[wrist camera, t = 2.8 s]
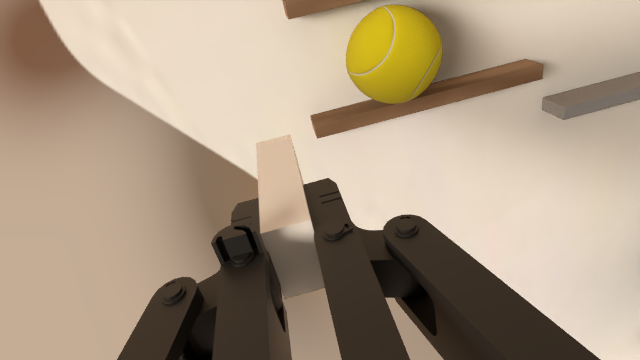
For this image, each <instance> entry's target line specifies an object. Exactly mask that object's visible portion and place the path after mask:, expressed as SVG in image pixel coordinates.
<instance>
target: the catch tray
mask: <svg viewBox="0 0 640 360" xmlns="http://www.w3.org/2000/svg"><path fill="white" fill-rule="evenodd" d="M639 99H640V72H638V73H634V74H630V75H626V76H623V77H619V78H615V79H611V80H608V81H604V82H600V83H596V84H593V85H589V86H585V87H581V88H578V89H574V90H570V91H566V92H563V93H559V94H555V95H551V96H548V97H544V98H543V103H542V110H544V111H546V112H548V113H550V114H552V115H555V116H557V117H559V118H561V119H563V120H565V119H569V118H572V117H576V116H580V115H584V114H587V113H591V112H595V111H599V110H602V109H606V108H610V107H613V106H617V105H621V104H625V103H628V102H632V101H636V100H639Z"/></svg>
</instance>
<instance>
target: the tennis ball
mask: <svg viewBox="0 0 640 360" xmlns="http://www.w3.org/2000/svg"><path fill="white" fill-rule="evenodd" d="M442 52H443V48H442V41H441V38H440V35H439V33H438V31H437V29H436V27H435V26H434V24H433V23H432V22H431V21H430V20H429V19H428V18H427V17H426V16H425V15H424V14H422V13H421V12H419V11H417V10H415V9H413V8H410V7H407V6H403V5H385V6H382V7H379V8H377V9H375V10H374V11H372V12H370V13H369V14H368V15H367V16H365V17H364V18H363V19H362V20H361V21H360V23H359V24H358V25H357V26H356V28H355V30H354V31H353V33H352V35H351V37H350V40H349V43H348V47H347V53H346V66H347V71H348V74H349V76H350V78H351V79H352V81H353V82H354V84H355V85H356V86H357V88H358V89H359V90H360V91H362V92H363V93H364V94H365V95H367V96H368V97H370V98H372V99H374V100H376V101H379V102H384V103H391V104H396V103H404V102H407V101H410V100H412V99H414V98H416V97H417V96H419V95H420V94H421V93H422V92H423V91H424V90H425V89H426V88H427V87H428V86H429V85H430V84H431V82H432V81H433V80H434V78H435V76H436V74H437V72H438V70H439V67H440V64H441V60H442Z"/></svg>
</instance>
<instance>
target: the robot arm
mask: <svg viewBox="0 0 640 360" xmlns="http://www.w3.org/2000/svg"><path fill="white" fill-rule="evenodd" d="M257 168H258V191H259V198H256V199H253V200H249V201H245V202H242V203H238V204H237V205H236V207H235V209H234V210H233V212H232V218H231V222H232V223H231V225H230V226H228V227H226V228H224V229H222V230H221V231H219V232H218V233H217V234H216V236H214V238H213V240H212V243H211V244H212V246H213V248H214V250H215V253H216V255H217V257H218V259H219V262H220V264H221V268H220V270H219V271H218V272H217V273H216V274H214V275H213V276H211V277H209V278H207V279H205V280H204V281H201V282H200V283H198V284H197V283H196V281H195V280H194V279H192V278H190V277H181V278H177V279H174V280H172V281H170V282H168V283H166V284H164V285H163V286H162V287H161V288H159V289H158V290H157V292H156V293H155V294H154V296H153V297H152V299H151V300H150V302H149V304H148V306H147V307H146V309H145V311H144V313H143V315H142V316H141V318H140V320H139V322H138V324H137V325H136V327H135V329H134V331H133V332H132V334H131V336H130V338H129V339H128V341H127V343H126V345H125V346H124V348H123V350H122V352H121V354H120V355H119V357H118V359H117V360H292V357H291V348H290V339H289V330H288V321H287V312H286V309H285V307H284V304H283V302H282V293H283V296H284V299H287V298H290V297H294V296H297V295H301V294H305V293H308V292H312V291H315V290H319V289H322V288H325V289H326V294H327V298H328V302H329V307H330V311H331V315H332V319H333V323H334V328H335V332H336V336H337V341H338V345H339V350H340V354H341V358H342V360H410V359H409V356H408V354H407V351H406V348H405V346H404V344H403V341H402V339H401V336H400V334H399V331H398V329H397V326H396V324H395V321H394V319H393V317H392V314H391V311H390V309H389V307H388V304H387V302H386V299H385V298H386V297H387V298H388V297H392V298H395V300H396V302H397V303H398V304H399V305H400V307H401V308H402V309H403V310H404V312H405V313H406V314H407V315H408V316H409V318H410V319H411V320H412V321H413V322H414V324H415V325H416V326H417V327H418V328H419V330H420V331H421V332H422V333H423V335H424V336H425V337H426V338H427V340H428V341H429V342H430V343H431V344H432V345H433V347H434V348H435V349H436V350H437V352H438V353H439V354H440V355H441V357H442V358H443V359H444V360H600V359H599V358H598V357H596V356H595V355H594V354H593V353H591V352H590V351H589V350H588V349H586V348H585V347H584V346H583V345H581V344H580V343H579V342H578V341H576V340H575V339H574V338H573V337H571V336H570V335H569V334H568V333H566V332H565V331H564V330H563V329H561V328H560V327H559V326H558V325H556V324H555V323H554V322H553V321H551V320H550V319H549V318H548V317H546V316H545V315H544V314H543V313H541V312H540V311H539V310H538V309H536V308H535V307H534V306H533V305H531V304H530V303H529V302H528V301H526V300H525V299H524V298H523V297H521V296H520V295H519V294H518V293H516V292H515V291H514V290H513V289H511V288H510V287H509V286H508V285H506V284H505V283H504V282H503V281H502V280H500V279H499V278H498V277H497V276H495V275H494V274H493V273H492V272H490V271H489V270H488V269H487V268H485V267H484V266H483V265H482V264H480V263H479V262H478V261H477V260H475V259H474V258H473V257H472V256H470V255H469V254H468V253H467V252H465V251H464V250H463V249H462V248H460V247H459V246H458V245H457V244H455V243H454V242H453V241H452V240H450V239H449V238H448V237H447V236H445V235H444V234H443V233H442V232H440V231H439V230H438V229H437V228H435V227H434V226H433V225H432V224H430V223H429V222H428V221H427V220H425V219H423V218H421V217H420V216H415V215H401V216H397V217H394V218H392V219H391V220H389V221H388V222H387V223H386V224H385V226H384V229H383V230H375V231H374V230H364V229H361V228H358V227H357V226H355V225H354V224H353V222H352V221H351V219H350V217H349V214H348V212H347V209H346V207H345V204H344V202H343V199H342V197H341V194H340V192H339V189H338V187H337V184H336V183H335V182H333V181H332V180H330V179H329V178H327V179H323V180H319V181H316V182H312V183H308V184H304V183H303V180H302V176H301V172H300V169H299V165H298V162H297V158H296V154H295V151H294V147H293V144H292V140H291V136H290V135H286V136H283V137H279V138H275V139H271V140H268V141H264V142H260V143H257ZM281 291H282V293H281Z"/></svg>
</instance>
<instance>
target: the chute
mask: <svg viewBox="0 0 640 360" xmlns="http://www.w3.org/2000/svg"><path fill="white" fill-rule="evenodd" d="M282 1H283V5H284V9H285V13H286V16H287V18H288V19H293V18H296V17H300V16H304V15H308V14H312V13H316V12H320V11H324V10H328V9H332V8H336V7H339V6H343V5H347V4H351V3H355V2H359V1H363V0H282ZM542 76H543V65H542V64H539V63H535V62H532V61H529V60H526V59H524V60H520V61H516V62H512V63H508V64H505V65H501V66H497V67H493V68H489V69H486V70H482V71H478V72H474V73H471V74H467V75H463V76H459V77H455V78H452V79H448V80H444V81H440V82H436V83H433V84H430V85H429V86H428V87H427V88H426V89H425V90H424V91H423V92H422V93H421V94H420V95H419V96H417V97H416V98H414V99H412V100H410V101H407V102H404V103H396V104H391V103H384V102H379V101H376V100H374V99H372V100H368V101H364V102H360V103H357V104H353V105H349V106H345V107H341V108H338V109H334V110H330V111H326V112H322V113H319V114H315V115H311V121H312V125H313V128H314V131H315V134H316V136H317V139H318V138H321V137H325V136H329V135H333V134H336V133H340V132H344V131H348V130H351V129H355V128H359V127H363V126H367V125H370V124H374V123H378V122H382V121H385V120H389V119H393V118H397V117H400V116H404V115H408V114H412V113H416V112H419V111H423V110H427V109H431V108H434V107H438V106H442V105H446V104H450V103H453V102H457V101H461V100H465V99H468V98H472V97H476V96H480V95H483V94H487V93H491V92H495V91H499V90H502V89H506V88H510V87H514V86H517V85H521V84H525V83H529V82H532V81H536V80H540V79H542Z"/></svg>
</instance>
